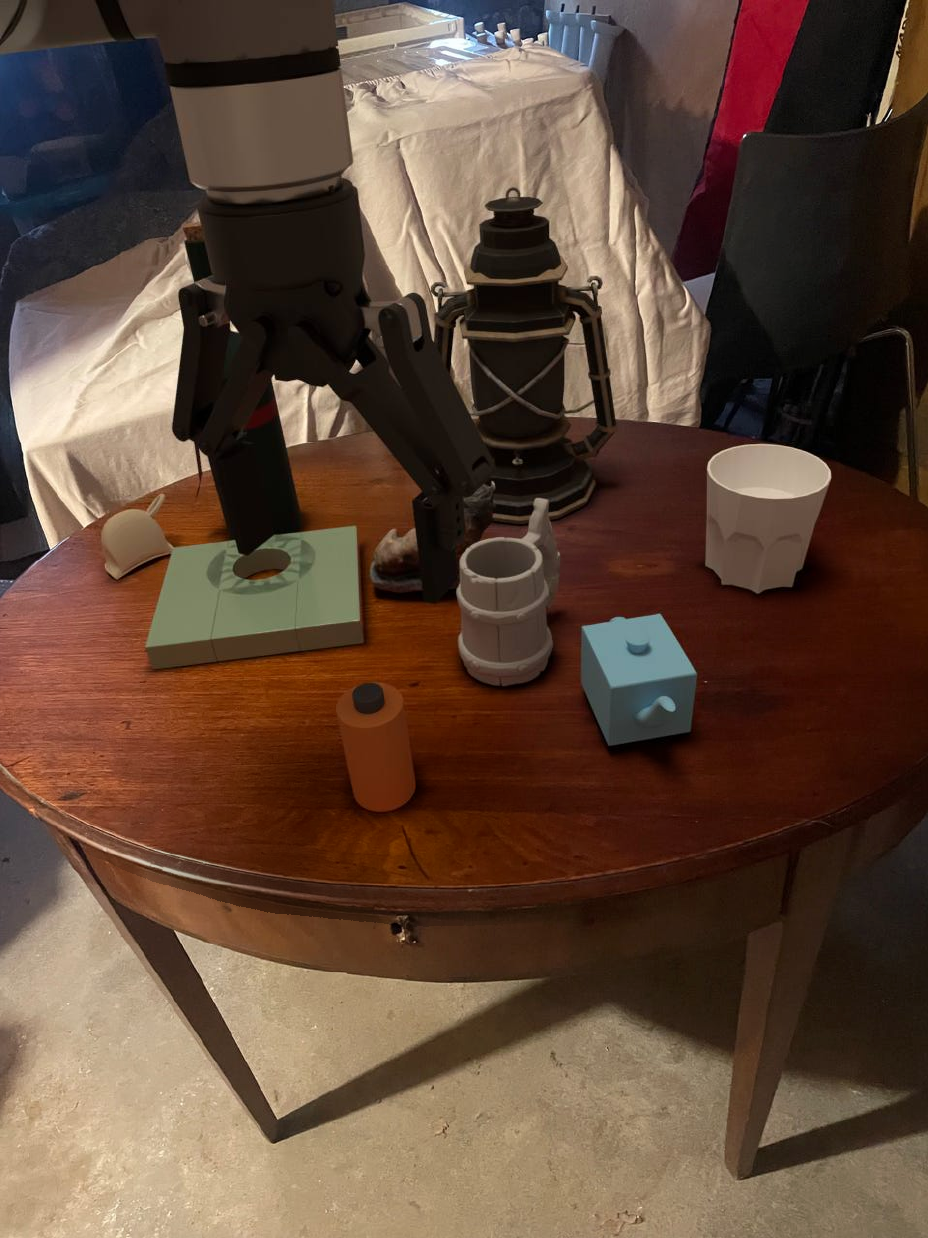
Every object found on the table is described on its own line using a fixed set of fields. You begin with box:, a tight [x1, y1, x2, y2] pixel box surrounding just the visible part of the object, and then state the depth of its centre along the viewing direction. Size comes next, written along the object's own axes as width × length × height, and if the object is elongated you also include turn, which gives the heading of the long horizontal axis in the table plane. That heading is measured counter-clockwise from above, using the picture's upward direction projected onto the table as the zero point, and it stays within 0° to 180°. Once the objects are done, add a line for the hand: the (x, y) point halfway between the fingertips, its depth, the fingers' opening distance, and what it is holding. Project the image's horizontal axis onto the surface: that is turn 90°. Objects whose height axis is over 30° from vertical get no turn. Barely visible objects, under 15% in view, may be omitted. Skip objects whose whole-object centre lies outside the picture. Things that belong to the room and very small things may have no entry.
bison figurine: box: [369, 481, 496, 594], centre depth 79 cm, size 12×7×10 cm, turn 91°
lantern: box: [430, 186, 619, 526], centre depth 87 cm, size 20×16×30 cm
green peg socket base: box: [144, 525, 365, 671], centre depth 81 cm, size 18×16×2 cm
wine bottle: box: [182, 221, 304, 541], centre depth 83 cm, size 8×10×30 cm
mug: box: [455, 498, 561, 687], centre depth 70 cm, size 8×12×12 cm, turn 145°
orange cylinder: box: [335, 681, 417, 813], centre depth 59 cm, size 4×4×9 cm
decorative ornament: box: [100, 493, 174, 581], centre depth 88 cm, size 4×8×5 cm, turn 133°
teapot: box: [580, 613, 698, 747], centre depth 63 cm, size 12×6×8 cm, turn 10°
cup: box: [704, 443, 832, 595], centre depth 78 cm, size 10×10×10 cm
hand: (344, 566), depth 53 cm, fingers open, 13 cm apart
